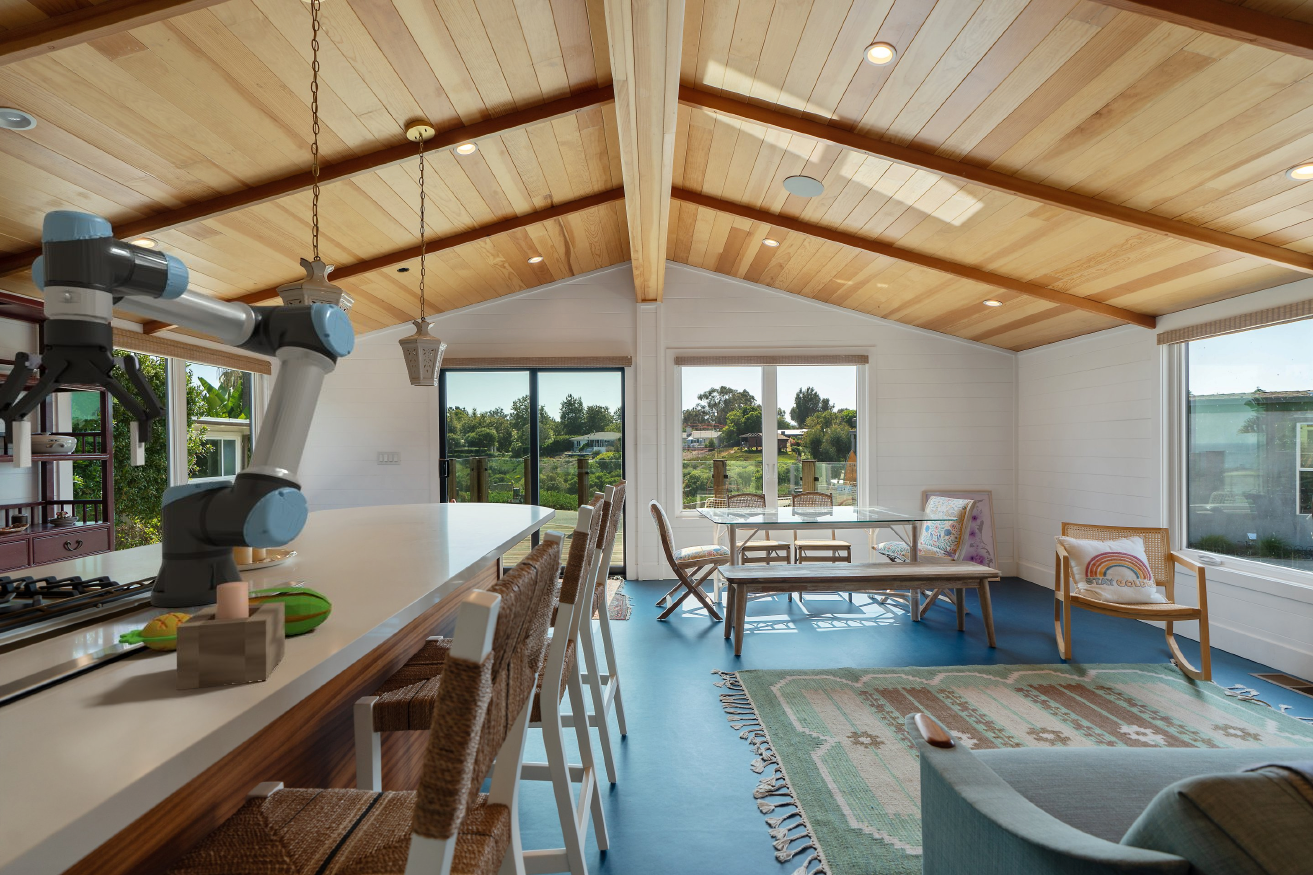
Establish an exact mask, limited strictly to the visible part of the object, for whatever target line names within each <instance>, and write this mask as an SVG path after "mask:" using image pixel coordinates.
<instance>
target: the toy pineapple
mask: <svg viewBox="0 0 1313 875" xmlns="http://www.w3.org/2000/svg"><path fill="white" fill-rule="evenodd" d="M192 616H193V615H190V614H189V613H183V612H171V613H167V614H163V615H160V616H158V617H155V618H154V619H152V620H151V621H149V622H148V623H146V624H145V626H144V627H143V628H142V629H133V630H130V632H127V633H122V634H120V635H119V639H118V643H119V644H128V645H130V646H133V645H137V644H140V643H142V644H144V645H145V646H146V647H148V648H150V649H152V650H154V651H163V652H166V651H174V650H177V627H178V626H179V625H181V624H182V623H184V622H185V621H186V620H188V619H189V618H191V617H192Z"/></svg>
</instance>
